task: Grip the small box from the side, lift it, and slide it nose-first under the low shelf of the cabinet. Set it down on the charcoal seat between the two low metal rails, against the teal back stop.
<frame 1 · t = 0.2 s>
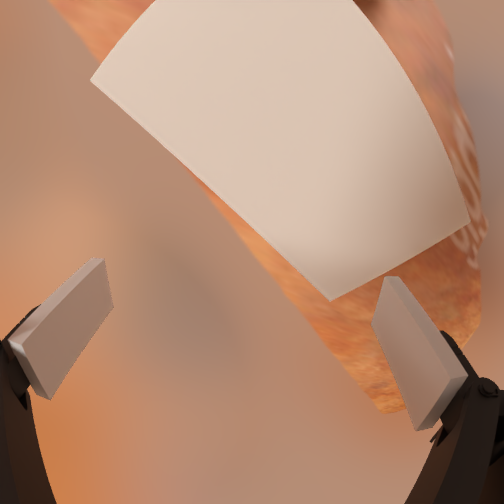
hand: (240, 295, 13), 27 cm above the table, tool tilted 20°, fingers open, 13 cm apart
cabinet: (294, 85, 30), on the table
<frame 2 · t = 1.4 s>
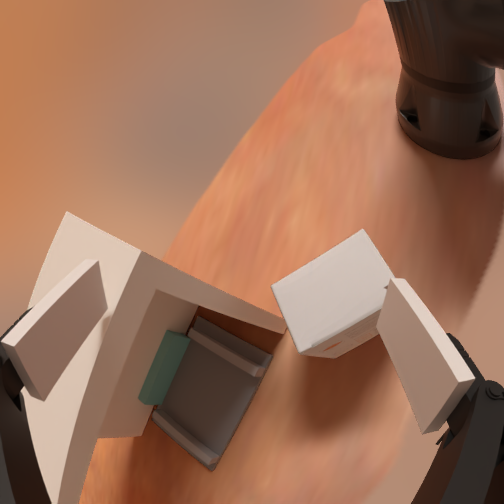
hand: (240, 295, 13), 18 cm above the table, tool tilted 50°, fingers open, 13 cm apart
cabinet: (199, 390, 32), on the table
small box: (358, 316, 27), on the table
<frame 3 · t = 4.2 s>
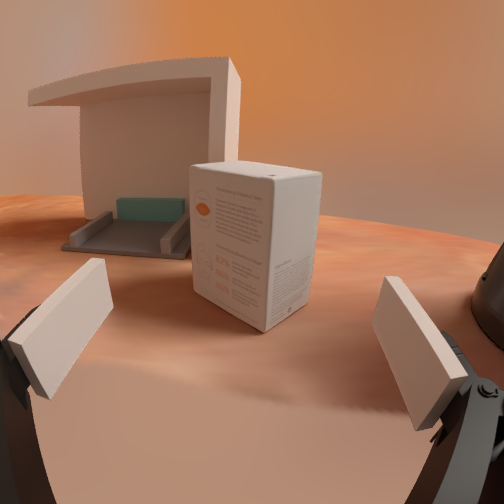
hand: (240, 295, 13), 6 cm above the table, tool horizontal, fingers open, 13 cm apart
cabinet: (137, 234, 36), on the table
small box: (248, 300, 24), on the table
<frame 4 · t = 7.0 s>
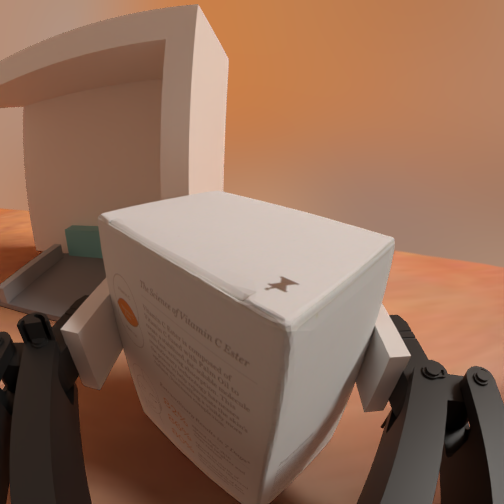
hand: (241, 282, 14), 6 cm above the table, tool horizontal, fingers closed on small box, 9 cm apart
cabinet: (87, 281, 25), on the table
small box: (232, 434, 13), on the table, touching gripper
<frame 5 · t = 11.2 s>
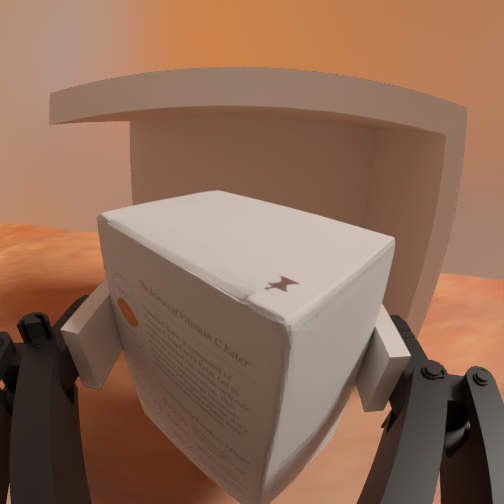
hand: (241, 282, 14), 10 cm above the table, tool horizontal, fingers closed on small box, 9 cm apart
cabinet: (248, 331, 26), on the table
small box: (232, 434, 13), point 4 cm above the table, touching gripper
when the fingers open (9 cm above the table, at t = 15.2 s): small box drops 2 cm, resting on cabinet.
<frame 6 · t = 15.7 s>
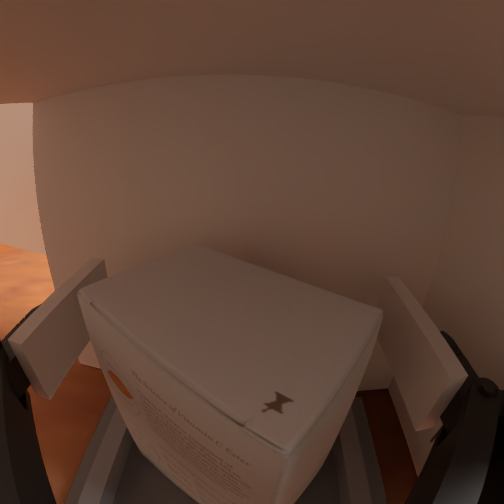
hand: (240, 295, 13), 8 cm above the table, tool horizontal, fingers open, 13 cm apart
cabinet: (231, 460, 13), on the table
small box: (227, 468, 12), resting on cabinet
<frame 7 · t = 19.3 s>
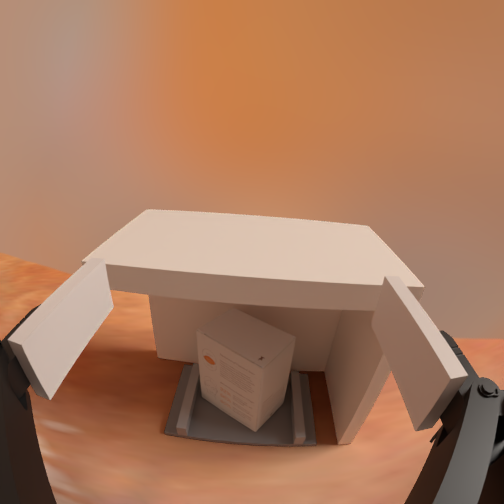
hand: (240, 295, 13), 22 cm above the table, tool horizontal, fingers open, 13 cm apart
cabinet: (243, 399, 32), on the table
small box: (241, 402, 31), resting on cabinet
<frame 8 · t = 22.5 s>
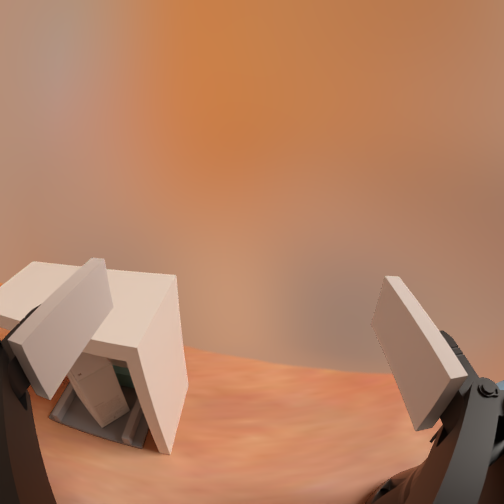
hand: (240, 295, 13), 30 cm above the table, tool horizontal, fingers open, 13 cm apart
cabinet: (106, 403, 37), on the table
small box: (103, 405, 36), resting on cabinet
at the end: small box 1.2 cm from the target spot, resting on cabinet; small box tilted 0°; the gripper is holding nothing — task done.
